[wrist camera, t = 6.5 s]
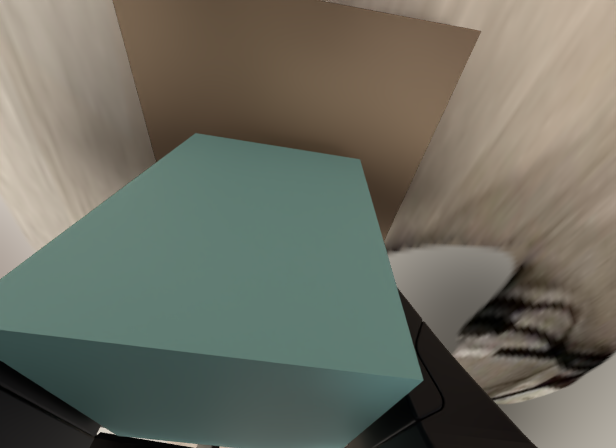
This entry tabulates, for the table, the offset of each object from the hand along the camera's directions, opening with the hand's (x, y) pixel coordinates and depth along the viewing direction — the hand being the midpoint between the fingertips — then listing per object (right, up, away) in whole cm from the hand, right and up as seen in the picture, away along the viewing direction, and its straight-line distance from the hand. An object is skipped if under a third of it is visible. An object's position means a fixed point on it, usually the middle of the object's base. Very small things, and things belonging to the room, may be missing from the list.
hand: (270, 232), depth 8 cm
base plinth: (0, +3, +4) cm, 5 cm away
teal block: (0, +1, +1) cm, 1 cm away
